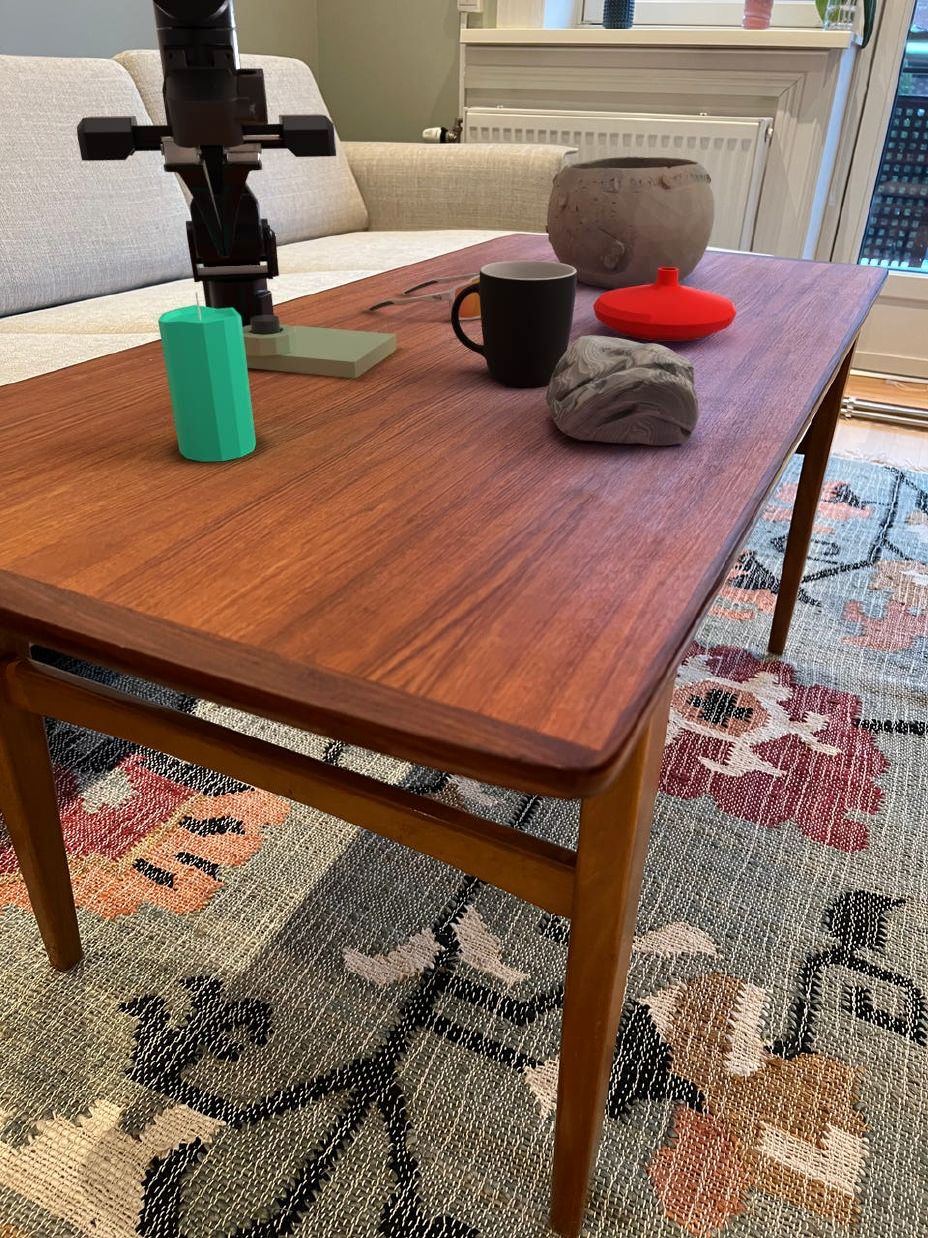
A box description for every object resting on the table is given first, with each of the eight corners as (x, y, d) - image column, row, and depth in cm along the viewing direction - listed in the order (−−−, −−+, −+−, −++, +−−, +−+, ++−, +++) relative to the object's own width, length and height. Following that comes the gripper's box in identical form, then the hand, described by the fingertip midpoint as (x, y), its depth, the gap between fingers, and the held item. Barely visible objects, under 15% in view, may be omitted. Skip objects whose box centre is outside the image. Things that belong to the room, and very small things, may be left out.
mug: (579, 369, 93) (586, 263, 88) (557, 396, 86) (564, 281, 80) (466, 358, 96) (466, 255, 91) (436, 383, 89) (434, 272, 84)
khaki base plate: (230, 370, 93) (226, 334, 91) (286, 340, 103) (283, 307, 101) (350, 382, 89) (348, 345, 87) (396, 350, 99) (395, 316, 97)
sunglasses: (476, 325, 107) (471, 280, 105) (362, 332, 113) (355, 289, 111) (516, 300, 119) (512, 259, 116) (411, 307, 124) (405, 268, 122)
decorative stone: (593, 353, 86) (628, 255, 78) (716, 432, 82) (766, 338, 75) (499, 420, 78) (527, 318, 70) (631, 511, 74) (677, 415, 66)
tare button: (246, 336, 92) (245, 320, 91) (260, 329, 94) (258, 313, 93) (272, 338, 91) (270, 322, 90) (285, 331, 93) (284, 315, 93)
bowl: (594, 256, 146) (601, 149, 138) (733, 274, 134) (750, 158, 126) (513, 281, 130) (516, 162, 122) (663, 303, 118) (678, 173, 110)
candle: (238, 464, 71) (217, 303, 65) (166, 458, 72) (138, 299, 66) (267, 437, 76) (251, 285, 70) (199, 432, 77) (177, 282, 71)
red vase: (640, 359, 96) (647, 289, 92) (566, 325, 108) (569, 261, 105) (762, 344, 102) (774, 276, 98) (679, 312, 114) (686, 251, 110)
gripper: (43, 22, 59) (92, 278, 67) (335, 24, 63) (350, 268, 71) (68, 31, 69) (109, 255, 77) (321, 33, 72) (336, 246, 80)
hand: (225, 256), depth 76 cm, fingers closed
